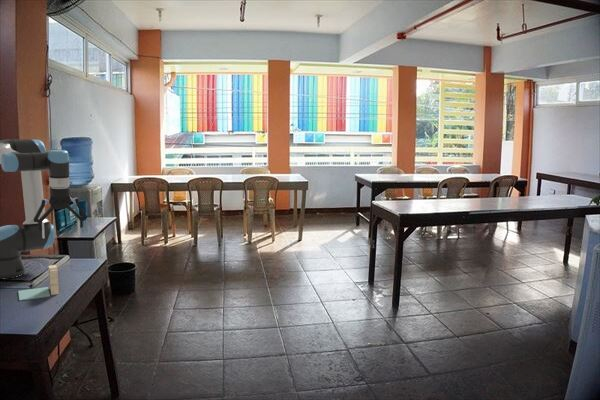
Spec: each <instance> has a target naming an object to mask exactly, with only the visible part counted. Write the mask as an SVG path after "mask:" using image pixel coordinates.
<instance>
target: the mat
mask: <svg viewBox="0 0 600 400" xmlns="http://www.w3.org/2000/svg"><path fill="white" fill-rule="evenodd" d="M49 297H51V292H50V289H49V286H45V287H44V286H43V287H37V288H30V289H28V288H27V289H21V290H18V301H19V302H21V301H28V300H36V299H42V298H49Z"/></svg>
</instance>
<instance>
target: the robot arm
mask: <svg viewBox="0 0 600 400" xmlns="http://www.w3.org/2000/svg"><path fill="white" fill-rule="evenodd" d="M69 156H70V155H69V152H68V150H65V149H50V150H49V151H47V149H46V145H45V144H44V142H43V141H42V140H39V139H31V138H30V139H29V138H28V139H24V138H23V139H2V140H0V166H1V168H2V171H3V172H6V173H7V172H10V173H15V172H20V177H21V186H22V187H21V188H22V193H23V194H22V195H23V196H22V197H23V204H24V205H23V207H24V215H25V221H23V223H22V227H19V225H17V224H8V225H3V226H0V279H3V278H12V277H16V276H19V275H21V274H24V273H25V272H26V271H27V270H26V267H25V264H24V261H23V259H22V257H21V253H22V252H29V251H37V250H43V249H44V250H45V249H48V248H52V246H53V245H54V242H55V238H56V237H55V236H56V233H55V227H54V224H52V223H50V220H49V219H48V217H49V215H50V214H51V213H52V212H53V211H54V210H66V209H68V210H69V212H71V213H72V214H73V215H74V216H75V217H76V218H77V219H76V220H77V235H78V236H79V237H80V236H81V228H83V227H84V220H86V219H87V218H88V216H87V214H86V212H85V211H84V209H83V208H82V206H81V204H80V202H79V198H78V197H74V198H71V189H70V185H71V184H70V157H69ZM42 171H48V175H49V177H48V181H49V183H48V184H49V187H50V188H49V199H46V198H44V188H43V178H42ZM72 202H73V204H75V205H76V207H77V208H78V210H79V212H80V213H81V215H82V216H81V215H80V214H79V213H78V211H76V210H75V209H74V208H73V207H72V206H71V203H72ZM47 204H50V206H49V207H48V209H45V207H46V206H47ZM25 274H26V273H25ZM25 274H24V275H25Z"/></svg>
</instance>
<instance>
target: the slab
mask: <svg viewBox="0 0 600 400" xmlns="http://www.w3.org/2000/svg"><path fill="white" fill-rule="evenodd" d="M47 269H48V284H49V285H48V289H49V293H50V296H53V295H54V296H55V295H59V294H60V279H59V269H58V266H57V264H51V265H50V264H49V265H48V267H47Z"/></svg>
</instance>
